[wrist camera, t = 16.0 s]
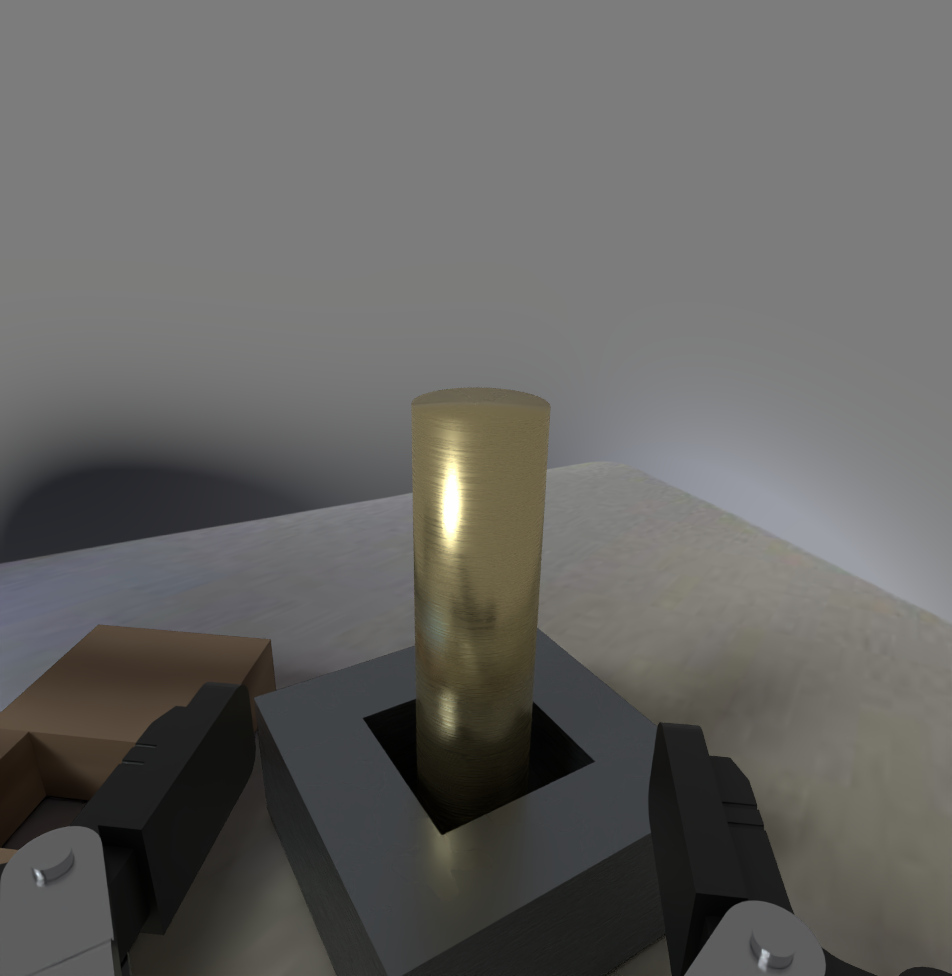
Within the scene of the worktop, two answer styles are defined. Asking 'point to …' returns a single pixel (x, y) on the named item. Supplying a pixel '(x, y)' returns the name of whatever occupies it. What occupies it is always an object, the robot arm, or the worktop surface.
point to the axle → (476, 594)
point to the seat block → (465, 829)
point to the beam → (109, 708)
